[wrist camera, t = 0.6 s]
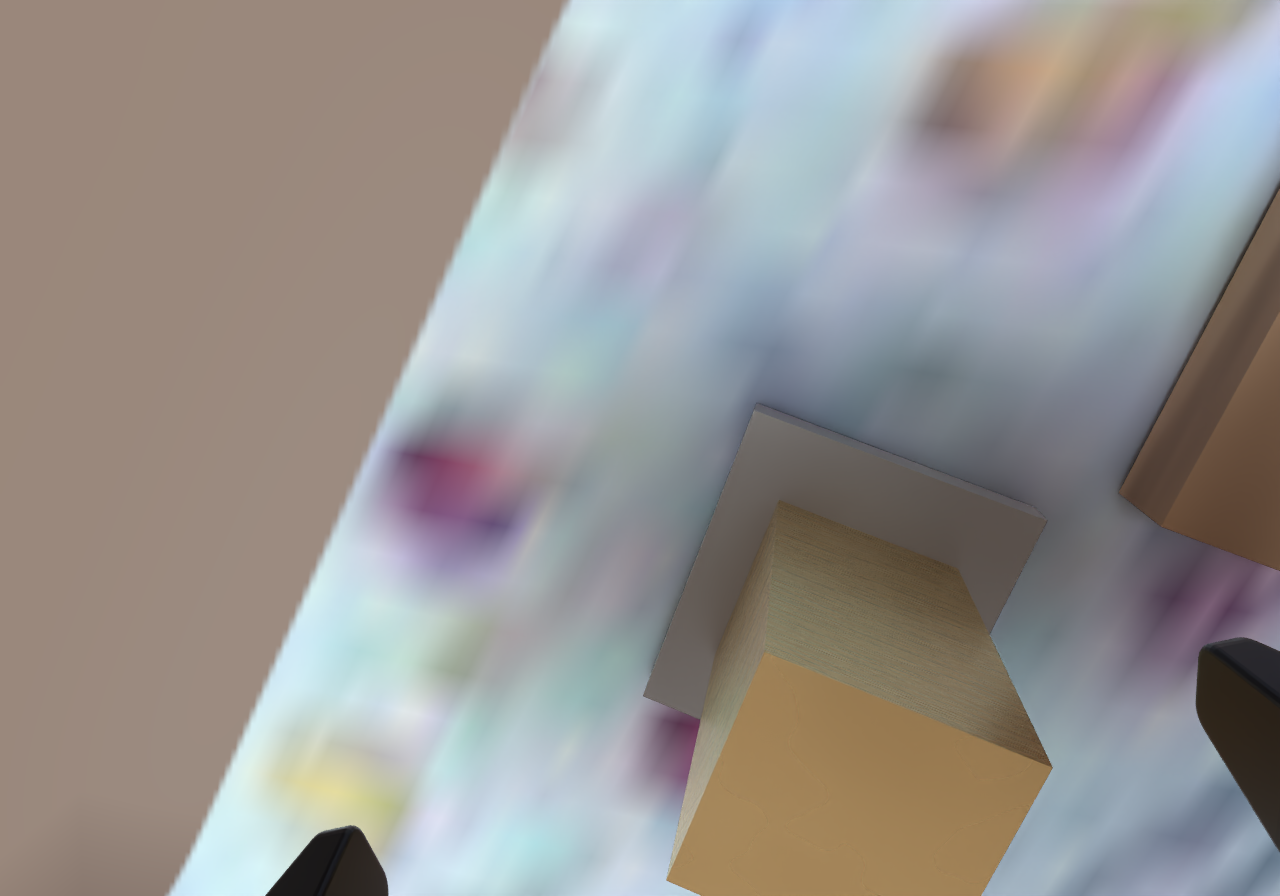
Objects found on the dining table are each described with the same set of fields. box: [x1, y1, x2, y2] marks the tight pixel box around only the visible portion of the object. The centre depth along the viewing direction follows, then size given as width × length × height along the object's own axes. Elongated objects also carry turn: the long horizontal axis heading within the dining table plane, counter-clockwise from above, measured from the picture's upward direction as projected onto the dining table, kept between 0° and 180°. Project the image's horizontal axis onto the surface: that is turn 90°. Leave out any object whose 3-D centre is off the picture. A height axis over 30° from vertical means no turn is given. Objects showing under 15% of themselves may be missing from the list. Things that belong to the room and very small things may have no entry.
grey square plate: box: [643, 403, 1047, 720], centre depth 21 cm, size 7×8×1 cm
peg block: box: [666, 500, 1053, 896], centre depth 17 cm, size 4×4×8 cm
